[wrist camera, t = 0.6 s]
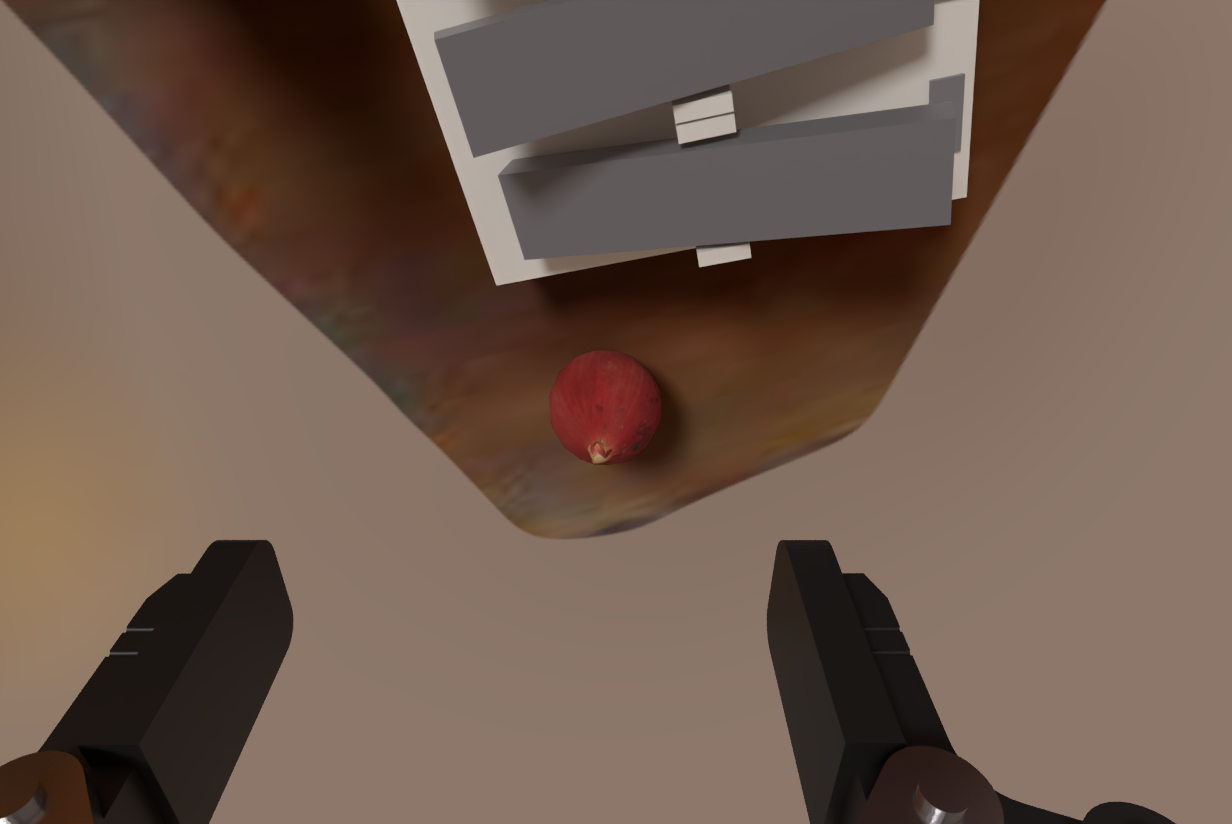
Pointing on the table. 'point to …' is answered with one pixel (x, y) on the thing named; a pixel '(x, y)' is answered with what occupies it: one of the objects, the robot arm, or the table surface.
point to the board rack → (705, 115)
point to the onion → (605, 407)
